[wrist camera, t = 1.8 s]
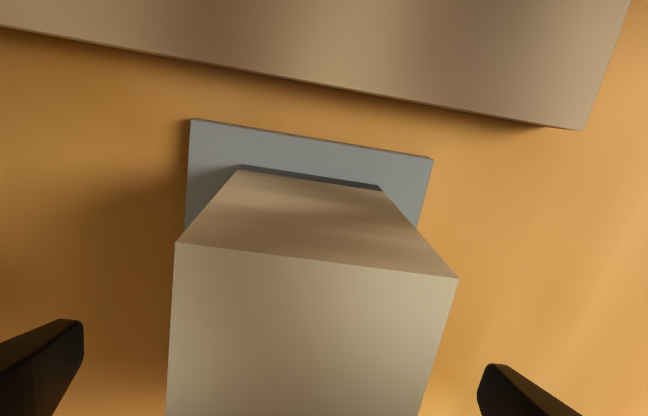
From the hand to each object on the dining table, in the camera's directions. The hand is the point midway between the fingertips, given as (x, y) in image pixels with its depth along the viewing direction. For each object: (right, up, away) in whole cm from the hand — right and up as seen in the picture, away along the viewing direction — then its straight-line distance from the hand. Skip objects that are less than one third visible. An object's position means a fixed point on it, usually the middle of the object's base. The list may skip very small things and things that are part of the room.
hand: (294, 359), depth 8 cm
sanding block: (0, +1, +3) cm, 4 cm away
